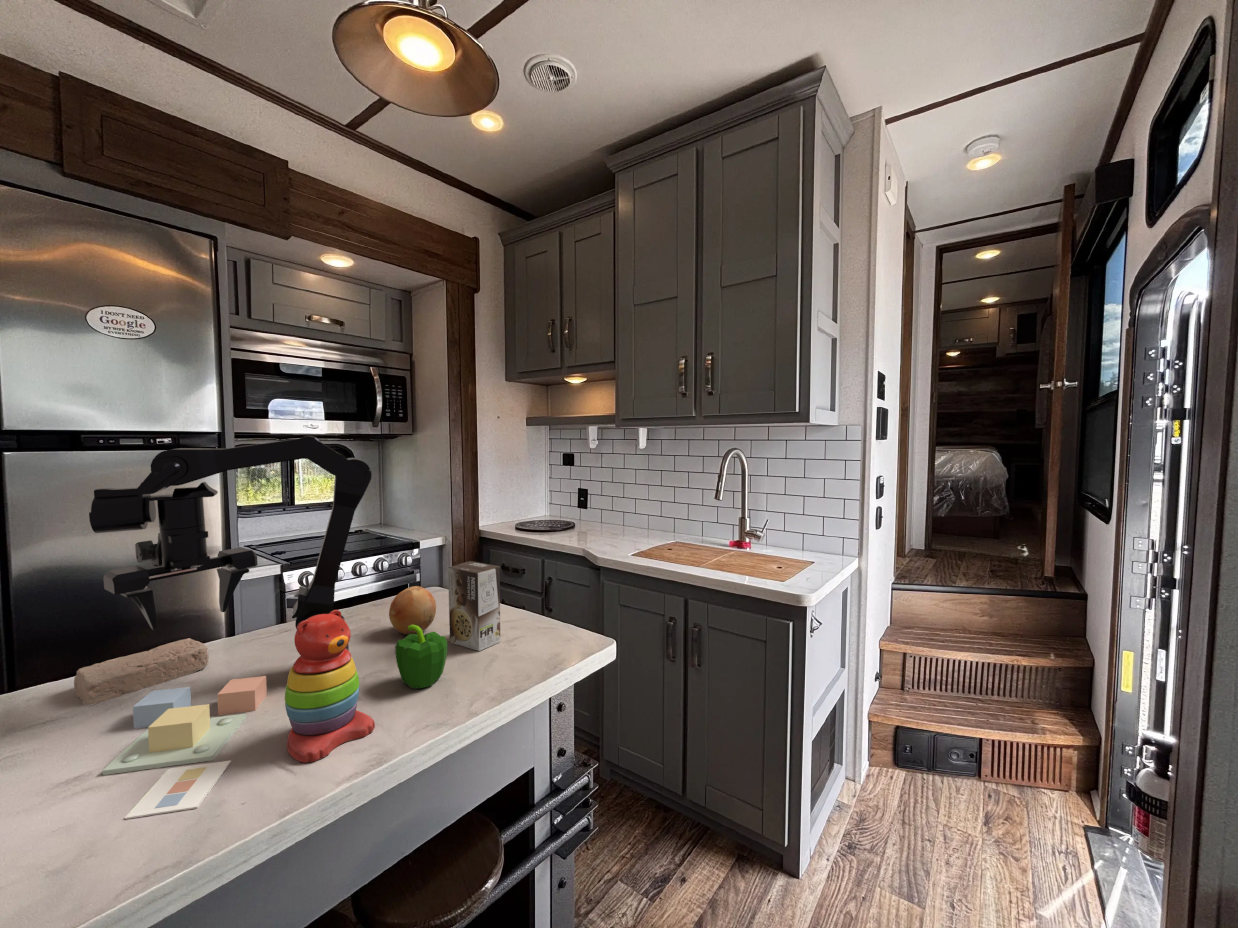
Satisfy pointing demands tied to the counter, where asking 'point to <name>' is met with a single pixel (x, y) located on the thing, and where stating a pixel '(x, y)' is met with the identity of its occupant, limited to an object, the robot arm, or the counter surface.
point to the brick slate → (159, 705)
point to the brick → (139, 670)
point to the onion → (412, 609)
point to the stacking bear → (323, 690)
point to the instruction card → (179, 789)
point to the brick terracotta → (242, 695)
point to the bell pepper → (421, 657)
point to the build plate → (180, 755)
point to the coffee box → (474, 604)
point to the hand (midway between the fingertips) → (190, 620)
